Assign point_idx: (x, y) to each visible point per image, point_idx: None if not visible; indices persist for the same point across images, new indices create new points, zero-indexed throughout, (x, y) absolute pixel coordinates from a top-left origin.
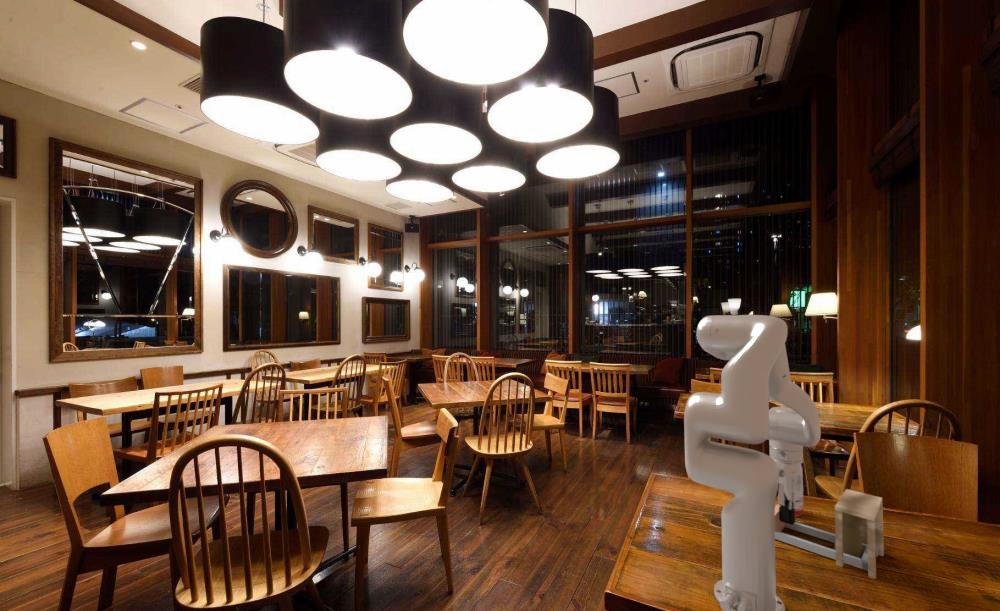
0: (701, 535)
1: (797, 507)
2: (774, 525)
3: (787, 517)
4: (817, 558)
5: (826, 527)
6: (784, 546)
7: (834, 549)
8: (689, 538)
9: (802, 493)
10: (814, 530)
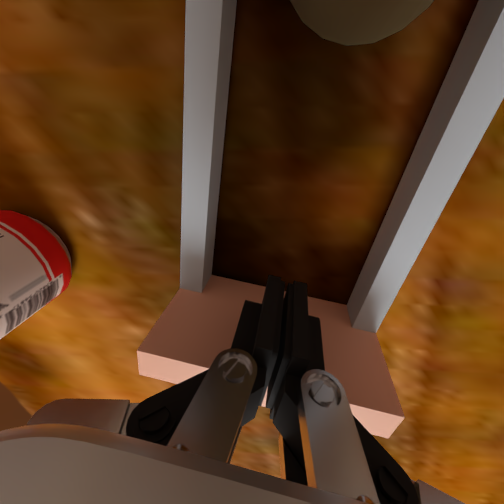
0: (452, 469)
1: (13, 247)
2: (384, 360)
3: (320, 337)
4: (499, 135)
5: (44, 99)
6: (415, 275)
7: (383, 30)
8: (491, 490)
9: (54, 444)
10: (211, 161)
